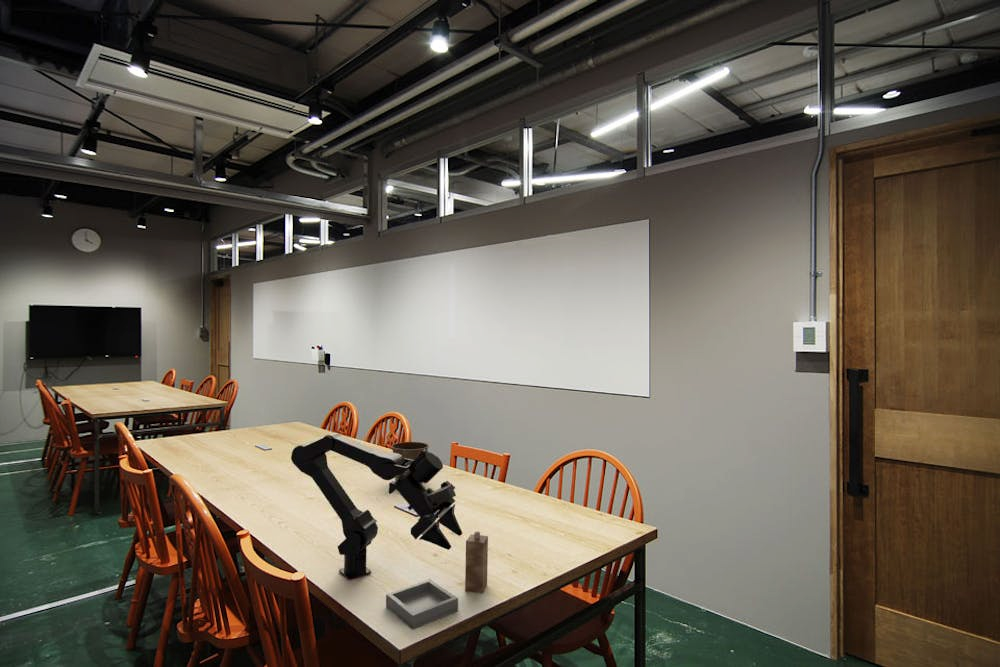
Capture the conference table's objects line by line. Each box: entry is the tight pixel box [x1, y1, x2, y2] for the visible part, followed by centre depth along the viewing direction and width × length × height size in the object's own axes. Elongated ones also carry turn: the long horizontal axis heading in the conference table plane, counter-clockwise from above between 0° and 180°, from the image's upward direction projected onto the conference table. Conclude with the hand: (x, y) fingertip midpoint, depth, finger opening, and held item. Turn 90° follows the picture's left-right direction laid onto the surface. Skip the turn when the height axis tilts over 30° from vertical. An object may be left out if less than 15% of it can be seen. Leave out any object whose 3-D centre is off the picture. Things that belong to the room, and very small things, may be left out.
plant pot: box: [390, 441, 430, 481], centre depth 223 cm, size 16×16×16 cm
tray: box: [385, 578, 459, 631], centre depth 118 cm, size 12×12×3 cm
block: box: [464, 531, 489, 594], centre depth 128 cm, size 4×4×14 cm
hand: (455, 541), depth 130 cm, fingers open, 9 cm apart
